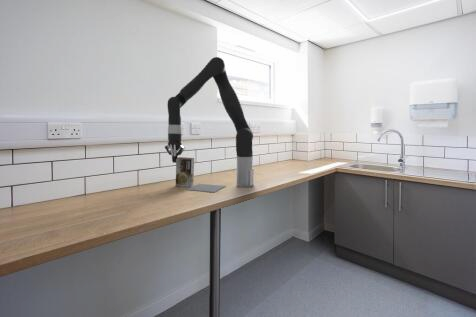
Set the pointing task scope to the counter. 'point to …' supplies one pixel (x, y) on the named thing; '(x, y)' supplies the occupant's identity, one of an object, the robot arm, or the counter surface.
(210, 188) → the mat
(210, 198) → the counter surface
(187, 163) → the coffee box
